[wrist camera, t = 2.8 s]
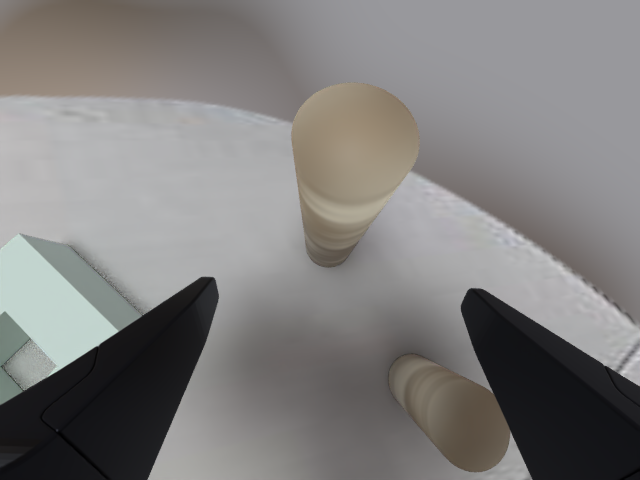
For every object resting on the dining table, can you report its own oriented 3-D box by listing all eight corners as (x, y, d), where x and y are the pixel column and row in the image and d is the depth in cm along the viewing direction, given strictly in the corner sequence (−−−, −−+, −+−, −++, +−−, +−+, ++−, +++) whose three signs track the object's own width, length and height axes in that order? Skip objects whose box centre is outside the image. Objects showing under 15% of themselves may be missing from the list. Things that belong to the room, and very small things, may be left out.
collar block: (174, 346, 19) (143, 355, 15) (34, 504, 16) (-40, 558, 13) (68, 245, 20) (18, 233, 17) (-74, 375, 18) (-166, 392, 14)
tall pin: (359, 242, 21) (443, 128, 7) (332, 276, 20) (369, 221, 7) (324, 215, 21) (344, 62, 8) (297, 248, 21) (264, 142, 7)
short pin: (447, 376, 19) (523, 417, 12) (420, 420, 18) (485, 492, 11) (406, 343, 19) (457, 365, 12) (378, 385, 18) (416, 433, 12)
